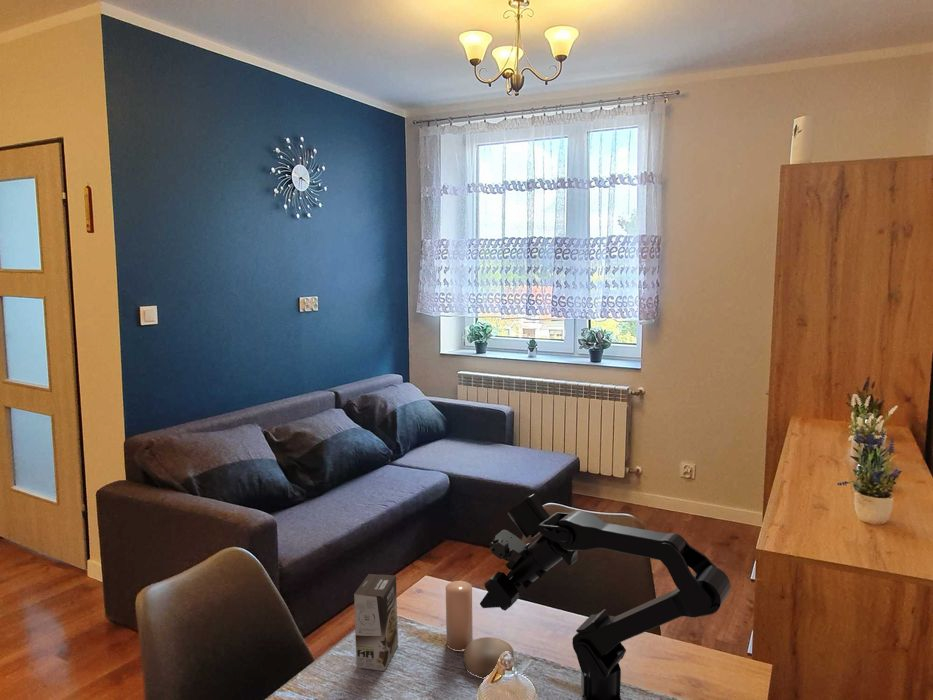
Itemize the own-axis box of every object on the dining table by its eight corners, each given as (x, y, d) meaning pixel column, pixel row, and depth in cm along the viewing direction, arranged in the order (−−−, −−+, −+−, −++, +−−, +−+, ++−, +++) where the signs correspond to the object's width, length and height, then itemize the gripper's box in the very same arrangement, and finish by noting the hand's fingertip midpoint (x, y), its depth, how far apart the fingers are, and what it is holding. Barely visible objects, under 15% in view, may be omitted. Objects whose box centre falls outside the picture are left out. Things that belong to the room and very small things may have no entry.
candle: (472, 636, 144) (471, 580, 142) (472, 651, 138) (472, 594, 136) (446, 636, 144) (445, 580, 142) (446, 652, 138) (445, 594, 136)
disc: (511, 650, 139) (511, 636, 139) (515, 680, 129) (515, 666, 129) (464, 650, 139) (464, 637, 139) (464, 681, 129) (464, 667, 129)
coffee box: (385, 671, 132) (383, 597, 130) (355, 668, 133) (352, 594, 131) (399, 645, 141) (397, 574, 138) (370, 642, 142) (368, 572, 140)
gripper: (533, 506, 138) (488, 545, 145) (493, 540, 122) (444, 582, 129) (569, 549, 135) (521, 587, 142) (532, 590, 119) (480, 630, 126)
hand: (492, 595), depth 135 cm, fingers open, 9 cm apart
